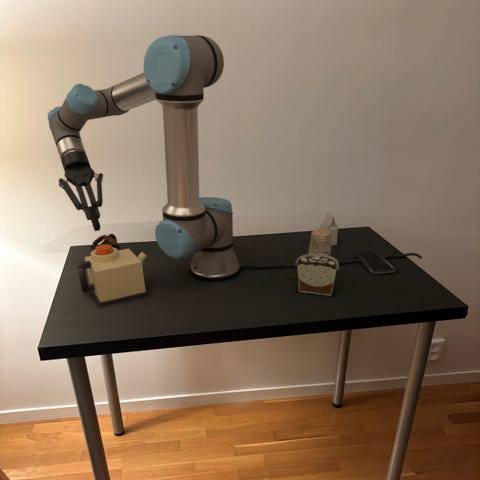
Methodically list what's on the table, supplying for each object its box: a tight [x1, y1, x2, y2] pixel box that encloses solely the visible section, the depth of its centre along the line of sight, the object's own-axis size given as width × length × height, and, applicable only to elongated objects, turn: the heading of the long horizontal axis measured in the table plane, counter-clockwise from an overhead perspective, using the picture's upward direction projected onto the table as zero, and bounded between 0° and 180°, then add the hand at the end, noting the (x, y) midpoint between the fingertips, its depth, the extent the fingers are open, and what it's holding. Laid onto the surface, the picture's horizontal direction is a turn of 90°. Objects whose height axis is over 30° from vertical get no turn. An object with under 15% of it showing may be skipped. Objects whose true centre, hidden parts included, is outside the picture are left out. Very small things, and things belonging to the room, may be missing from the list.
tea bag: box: [320, 211, 339, 246], centre depth 174 cm, size 4×7×10 cm, turn 12°
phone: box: [355, 251, 397, 275], centre depth 158 cm, size 8×1×15 cm
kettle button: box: [96, 244, 112, 255], centre depth 140 cm, size 4×4×2 cm
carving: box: [307, 228, 332, 256], centre depth 155 cm, size 6×8×12 cm
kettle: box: [84, 247, 147, 302], centre depth 142 cm, size 13×12×12 cm
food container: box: [294, 253, 340, 297], centre depth 141 cm, size 12×6×10 cm, turn 71°
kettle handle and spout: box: [76, 251, 149, 307], centre depth 142 cm, size 20×13×11 cm, turn 119°
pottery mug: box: [89, 233, 122, 252], centre depth 169 cm, size 12×10×8 cm
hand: (97, 228), depth 140 cm, fingers closed
